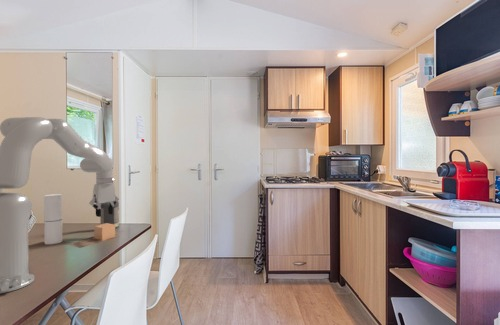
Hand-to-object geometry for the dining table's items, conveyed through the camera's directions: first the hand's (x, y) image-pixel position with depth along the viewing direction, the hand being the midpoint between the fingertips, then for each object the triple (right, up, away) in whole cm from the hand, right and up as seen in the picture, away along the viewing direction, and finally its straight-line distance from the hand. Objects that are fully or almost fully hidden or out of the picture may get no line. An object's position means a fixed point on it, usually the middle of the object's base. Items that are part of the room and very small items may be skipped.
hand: (104, 214), depth 136 cm
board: (-2, -14, -4) cm, 14 cm away
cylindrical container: (-22, -14, -7) cm, 27 cm away
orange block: (0, -12, 0) cm, 12 cm away
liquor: (-7, -13, +19) cm, 24 cm away
